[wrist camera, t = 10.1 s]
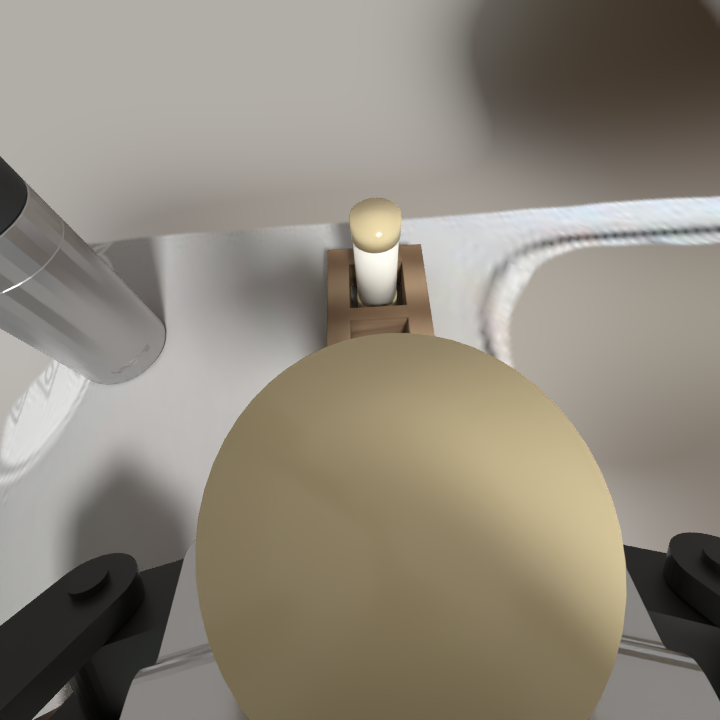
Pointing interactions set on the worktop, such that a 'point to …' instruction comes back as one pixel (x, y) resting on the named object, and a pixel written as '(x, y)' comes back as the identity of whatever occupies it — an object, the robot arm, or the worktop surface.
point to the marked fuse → (409, 543)
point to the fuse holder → (383, 318)
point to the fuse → (376, 250)
